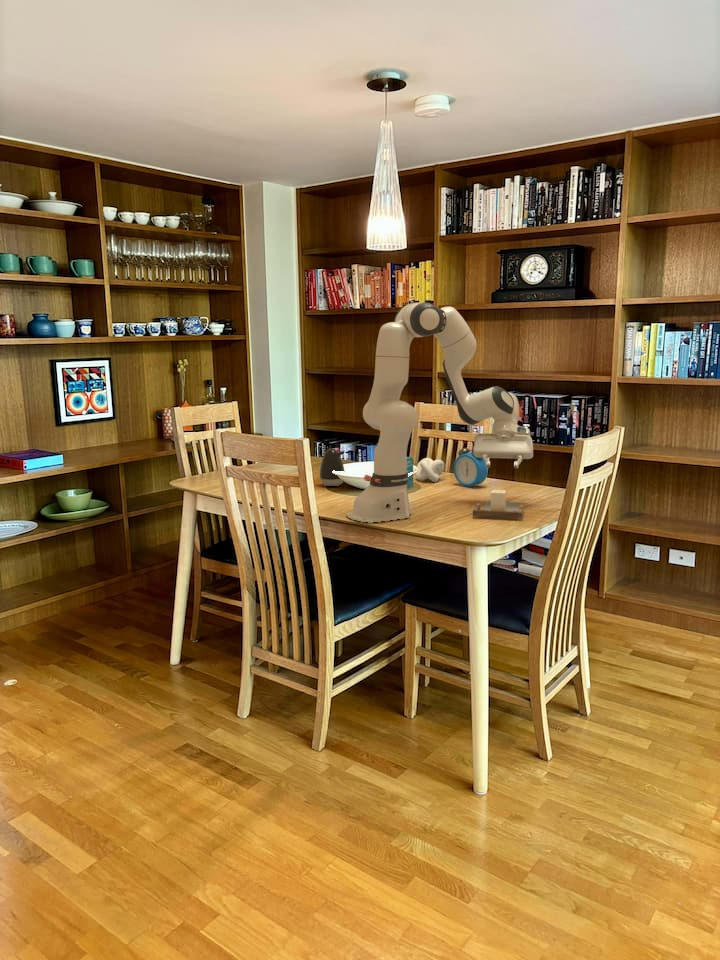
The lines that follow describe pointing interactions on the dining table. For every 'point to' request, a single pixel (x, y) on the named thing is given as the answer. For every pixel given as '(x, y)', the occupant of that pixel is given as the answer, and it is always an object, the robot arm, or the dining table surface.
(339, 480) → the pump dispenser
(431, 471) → the white decorative knot
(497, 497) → the cream block
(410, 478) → the data package
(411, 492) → the dining table surface
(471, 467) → the alarm clock
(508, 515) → the brown wooden tray
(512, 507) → the grey mat
